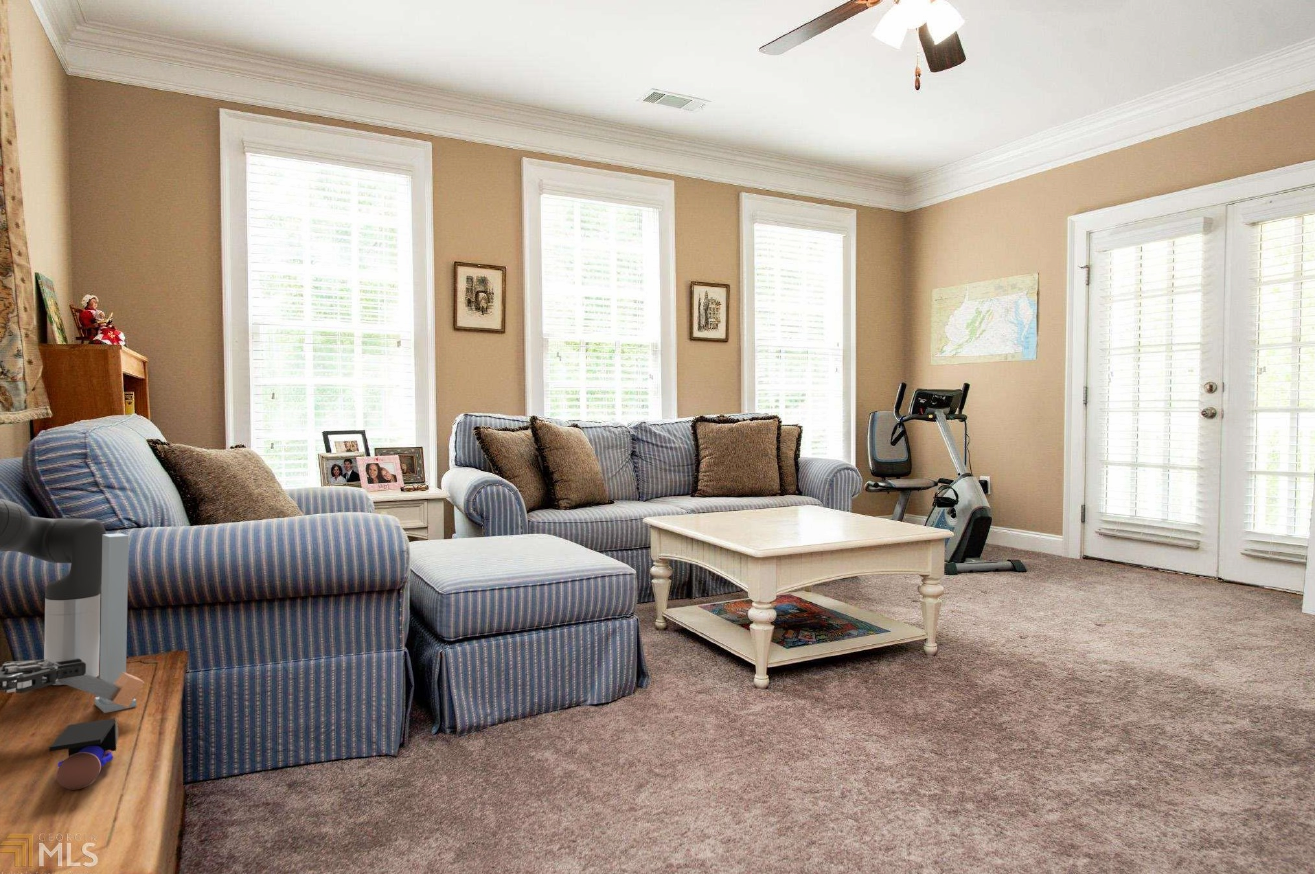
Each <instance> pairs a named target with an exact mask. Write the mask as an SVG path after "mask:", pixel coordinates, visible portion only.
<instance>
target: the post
mask: <svg viewBox="0 0 1315 874" xmlns="http://www.w3.org/2000/svg"><path fill="white" fill-rule="evenodd" d="M129 537H130V536H129V535H127V534H125V533H121V532H120V533H106V534H103V535H102V584H101V590H100V648H99V678H100V679H102V680H105V681H108V682H110V683H113V684H114V683H115V682H116V681H117V679H118V678H119V676H120V675H121V673H122V672H125V673H127V646H128V644H127V641H128V640H127V639H128V638H127V636H128V633H127V632H128V592H129V591H128V590H129V588H128V586H129V585H128V584H129V583H128V581H129V540H130V539H129ZM94 705H95V706H96V707H97V708H98V709H100V711H102V712H103V714H107V713H111V712H117V711H122V710H126V709H131V708H136V707H137V699H136V698H134V700H133V701H132V703H131V704H130V706H129V707H125V706H122V705H119V704H116V703H113V702H112V701H110V700H107V699H105V698H102V697H99V696H97V697H94Z"/></svg>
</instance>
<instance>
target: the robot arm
mask: <svg viewBox="0 0 1315 874" xmlns="http://www.w3.org/2000/svg"><path fill="white" fill-rule="evenodd" d="M103 534H107V531H106V528H105V526H104V525H103V523H102V522H101V521H100V520H97V519H95V518H60V517H59V518H46V517H40V516H33V515H30V514H29V512H28V510H26V509H25V508H24V506H22V505H20V504H19V503H16V502H14V501H10V500H7V499H4V498H0V551H1V552H18V553H22V554H25V555H27V556H29V557H33V558H36V559H39V560H41V561H44V562H47V563H52V564H53V563H54V564H70V568H69V569H70V570H69V573H68V574H67V575H66V576H65V577H63V578H60V579H57V580H54V581H51V582H49V583H48V584H47V585H46V587H45V593H44V594H45V595H44V643H43V644H44V646H43V647H44V648H43V649H44V650H43V651H44V652H43V653H44V654H43V655H44V656H43V658H42V659H41V658H40V659H33V660H31V659H30V660H16V661H15V660H13V661H10V660H9V661H5V662H3V664H2V666H0V692H3V691H4V693H8V694H9V693H15V694H23V693H27V692H31V691H33V690H37V689H41V688H44V687H49V686H62V685H63V686H66V685H65V684H63V683H60V682H57V681H58V679H63V678H70V677H76V676H82V675H84V674H85V673H86V674H89V675H92V676H94V677H97V678H99V676H100V641H101V587H102V535H103ZM46 659H48V660H51V661H54V662H56V663H59V664H62V665H52V666H46V667H41V665H42V664H43V663H44V661H45V660H46ZM46 674H47V678H46V677H43V675H46Z"/></svg>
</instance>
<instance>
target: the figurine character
mask: <svg viewBox="0 0 1315 874" xmlns="http://www.w3.org/2000/svg"><path fill="white" fill-rule="evenodd" d="M116 720H117V719H116V717H114V718H113V717H112V718H109V719H100V720H93V721H87V722H81V723H80V722H79V723H74V724H73V723H72V724H68V725H67V726H66V727H65V728H64V729H63V731H62V732H61V733H60V734H59V735H58V737H57V738H55V740H54V741H53V743H51V745H50V746H49V747H48V751H49V752H56V751H60V750H62V751H63V750H68V751H67V752H68V757H67V758H65V759H63V760H61V761H59V762H58V763H57V766H58V769H57V772H56V779H57V782H58V784H59V785H60V786H61V787H63V788H65V789H67V790H71V791H72V790H73V791H74V790H80V789H83V788H86V787H88V786H91V784H92V783H94V782H95V780H97V778H98V777H99V775H100V772H101V769H102V767H103V766H105V765H106V763H108V762H111V761H112V760H113V759H114V756H113V752H116V751H117V744H118V741H119V723H118V722H117V721H116Z"/></svg>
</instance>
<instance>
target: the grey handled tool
mask: <svg viewBox="0 0 1315 874" xmlns="http://www.w3.org/2000/svg"><path fill="white" fill-rule="evenodd" d="M52 665H62V664H59V663H56V662H54V661H51V660H48V659H46V660H45V661H44V663H43V664H42V665H41V667H46V666H52ZM43 677H46V678H47V674H46V675H43ZM57 682H60V683H63V684H65V685H64V686H69V687H71V688H73V689H77V690H79V691H83V692H85V693H88V694H91V695H94V696H97V697H102V698H105V699H107V700H110V701H112V702H113V703H116V704H119V705H122V706H125V707H129V706H130V704H131V703H132V701H133V700H134V699H136V697H137V695H138V694H139V693H140V691H141V690H142V688H143V686H144V685H145V684H146V683H145V681H143V680H142V679H141V678H139V677H138V676H135V675H133V674H130V673H127V672H126V673H125V672H122V673H121V675H120V676H119V678H118V679H117V681H116V682H115V683H114V684H113V683H110V682H108V681H105V680H102V679H100V677H94V676H92V675H89V674H86V673H85V674H84V675H82V676H76V677H70V678H63V679H58V681H57Z"/></svg>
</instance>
